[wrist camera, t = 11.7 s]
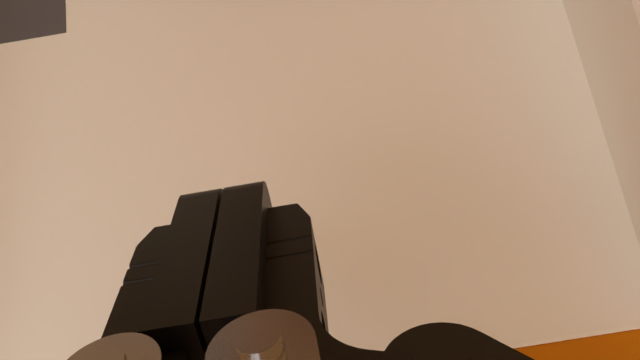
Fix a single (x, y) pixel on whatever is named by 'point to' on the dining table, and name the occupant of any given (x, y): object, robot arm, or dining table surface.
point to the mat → (31, 19)
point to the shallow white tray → (334, 157)
